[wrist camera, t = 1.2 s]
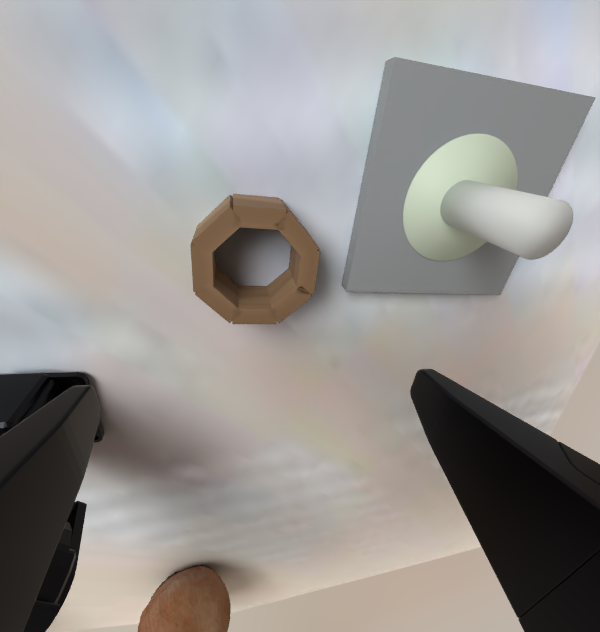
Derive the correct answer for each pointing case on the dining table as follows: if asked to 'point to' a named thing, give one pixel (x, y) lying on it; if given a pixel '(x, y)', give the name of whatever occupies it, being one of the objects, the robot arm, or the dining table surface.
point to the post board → (459, 181)
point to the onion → (188, 604)
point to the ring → (253, 300)
